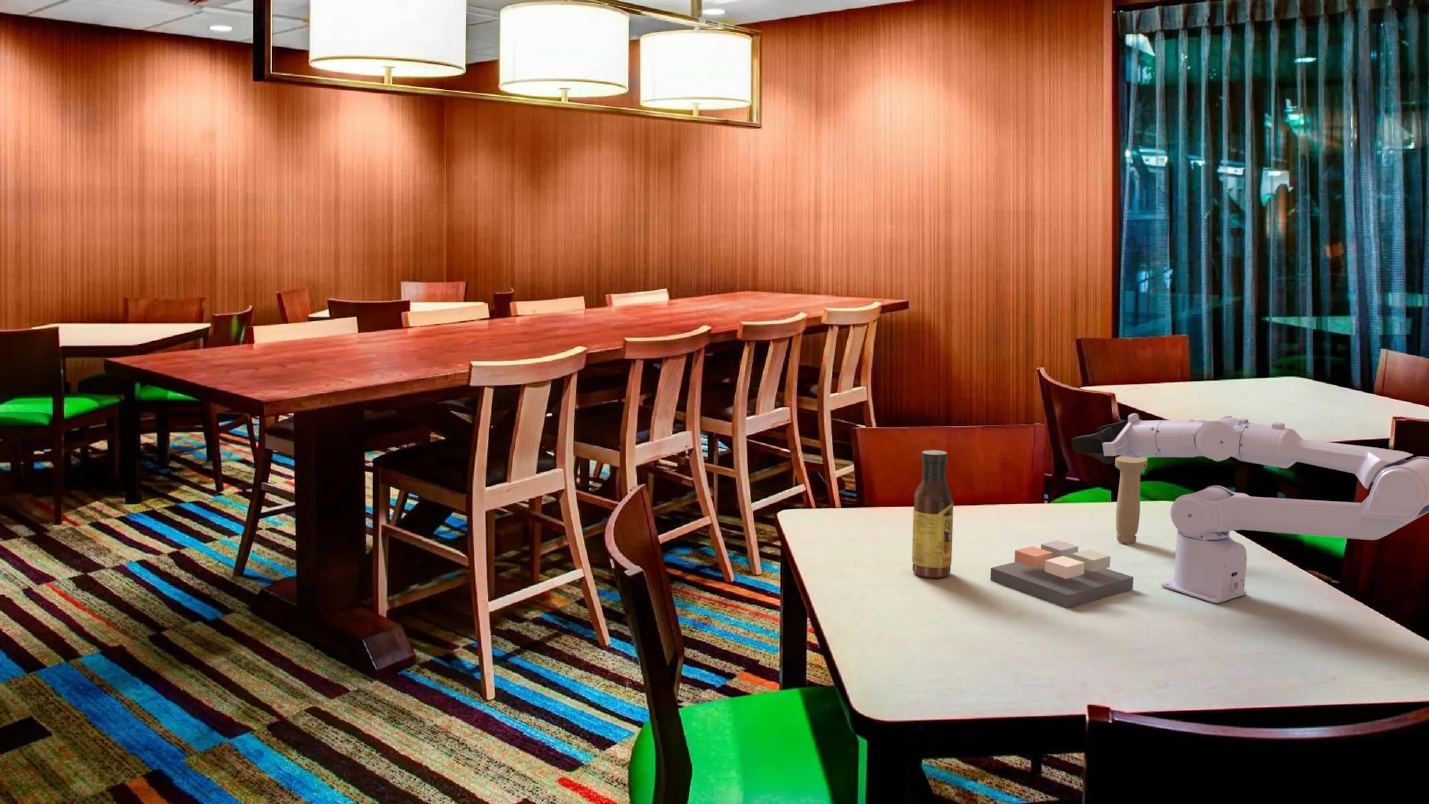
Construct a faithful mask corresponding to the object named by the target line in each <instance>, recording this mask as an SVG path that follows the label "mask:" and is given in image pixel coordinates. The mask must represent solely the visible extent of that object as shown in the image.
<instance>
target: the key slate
mask: <svg viewBox="0 0 1429 804" xmlns="http://www.w3.org/2000/svg"><path fill="white" fill-rule="evenodd" d="M1040 549H1043V550H1046V551H1049V552H1053V557H1052V558H1056V557H1061V556H1065V557H1068V558H1072V554H1073V553H1077V552H1079V546H1078V545H1075V544H1071V543H1068V542H1065V541H1061V540H1058V539H1057V540H1054V541H1049V542H1045V543H1041V544H1040Z"/></svg>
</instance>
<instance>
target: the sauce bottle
mask: <svg viewBox="0 0 1429 804" xmlns="http://www.w3.org/2000/svg"><path fill="white" fill-rule="evenodd" d="M920 460H921V463H922V471H921V472H922V473H921V479H922V480H921V481H920V483H919V485H918V486H916V487H917V488H916V489H915V491H914V496H913V500H914V501H913V502H914V503H913V504H914V505H913V511H912V547H911V548H912V550H911V552H912V554H911V562H912V572H913V574H915V575H917V576H919V577H923V578H930V579H932V578H933V579H939V578H944V577H947V576H949V575H950V574H951V566H952V557H953V556H952V555H953V529H954V527H953V526H954V525H953V524H954V523H953V521H954V519H953V518H954V499H953V497H952V493H951V490H950V487H949V484H948V481H947V463H948V452H947V451H944V450H937V449H931V450H923V451H922V452H921V459H920Z"/></svg>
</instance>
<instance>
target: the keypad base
mask: <svg viewBox="0 0 1429 804" xmlns="http://www.w3.org/2000/svg"><path fill="white" fill-rule="evenodd" d="M989 580H990V581H992V582H995V583H997V584H999V585H1003V586H1006V587H1008V588H1011V589H1013V590H1016V591H1020V592H1022V593H1026V594H1028V595H1029V596H1033V597H1036V598H1039V599H1042V600H1044V601H1046V602H1050V603H1051V604H1052V603H1053V604H1055V605H1058V606H1061V607H1063V608H1066V609H1069V608H1072V607H1076V606H1080V605H1083V604H1087V603H1090V602H1093V601H1097V600H1101V599H1104V598H1108V597H1111V596H1114V595H1118V594H1123V593H1125V592H1129V591H1133V590H1134V576H1132V575H1128V574H1125V573H1122V572H1119V571H1115V570H1113V569H1109V568H1105V569H1102V570H1098V571H1094V572H1092V571H1089V570H1085V569H1084V574H1083V575H1079V576H1075V577H1071V578H1067V579H1065V578H1062V577H1059V576H1056V575H1053V574H1051V573H1048V572H1045V566H1041V567H1037V568H1033V567H1030V566H1027V565H1024V564H1021V563H1018V562H1015V561H1013V562H1008V563H1006V564H1002V565H997V566H991V567H990V578H989Z"/></svg>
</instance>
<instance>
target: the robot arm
mask: <svg viewBox="0 0 1429 804" xmlns="http://www.w3.org/2000/svg"><path fill="white" fill-rule="evenodd" d="M1071 447H1072V452H1075V453H1079V454H1082V455H1086V456H1090V457H1093V458H1095V459H1097V460H1099V461H1100V462H1102V463H1103V464H1106V465H1110V464H1114V463H1115V457H1117V456H1126V457H1131V458H1141V457H1145V458H1195V457H1205V458H1208V459H1211V460H1213V461H1215V462H1221V461H1225V460H1227V459H1229V458H1230V457H1232V458H1234V459H1236V460H1238V461H1240V462H1246V463H1251V464H1259V465H1263V466H1269V467H1275V468H1280V469H1281V468H1282V469H1289V468H1290V467H1292V466H1293V465H1294V464H1295V463H1297V462H1298V463H1303V464H1306V465H1307V464H1308V465H1311V466H1312V465H1313V466H1317V467H1320V468H1321V467H1322V468H1325V469H1326V468H1327V469H1331V470H1336V471H1341V472H1346V473H1351V474H1354V475H1355V476H1356V478H1357V479H1358V481H1359V482H1360V483H1361V485H1362V486H1363V487H1364V488H1365V489H1366V490H1369V489H1370V488H1371V489H1370V491H1369V495H1367V497H1366V498H1365V499H1364V500H1363V501H1362V502H1353V501H1351V502H1348V501H1330V500H1314V499H1297V498H1295V499H1294V498H1279V497H1278V498H1277V497H1263V496H1262V497H1261V496H1259V497H1258V496H1250V495H1248V494H1246V493H1243V492H1236V491H1235V492H1234V491H1232V490H1230V489H1228V488H1226V487H1224V486H1221V485H1211V486H1207V487H1205V488H1204V489H1201V490H1199V491H1196V492H1191V493H1187V494H1183V495H1180V496H1179V497H1177V498H1176V499H1175V500H1174V501H1173V503H1172V504H1171V507H1170V518H1171V522H1172V523H1173V525H1174V527H1175V528H1176V529H1177V531H1176V532H1177V533H1176V543H1175V544H1176V547H1175V559H1174V560H1175V561H1174V574H1173V579H1170V580H1168V581H1163V582H1161V583H1160V585H1161V587H1163V588H1166V589H1170V590H1173V591H1176V592H1178V593H1183V594H1185V595H1188V596H1190V597H1194V598H1198V599H1200V600H1205V601H1207V602H1209V603H1214V604H1220V603H1223V602H1225V601H1228V600H1232V599H1235V598H1238V597H1241V596H1245V595H1247V594H1248V590H1245V585H1246V572H1247V559H1248V555H1247V554H1248V553H1247V550H1246V547H1245V546H1244V544H1243V543H1240V542H1238V541H1235V540H1233V539H1232V537H1231V536H1230V532H1232V531H1233V532H1234V531H1241V530H1242V531H1243V530H1244V531H1253V532H1254V531H1255V532H1269V533H1279V534H1280V533H1281V534H1282V533H1283V534H1291V535H1292V534H1293V535H1302V536H1303V535H1305V536H1306V535H1307V536H1318V537H1328V538H1330V537H1331V538H1341V539H1342V538H1343V539H1354V540H1367V541H1368V540H1369V541H1376V540H1380V539H1382V538H1384V537H1385V536H1388V535H1390V534H1391V533H1394V532H1396V530H1399V529H1400V528H1403V527H1404V526H1406V525H1408V524H1410V523H1411V522H1413V521H1415V520H1417V519H1419V518H1421V517H1422V516H1424V515H1426V514H1428V513H1429V456H1416V457H1412V456H1414V454H1412V453H1409V452H1406V451H1401V450H1393V449H1390V448H1389V449H1388V448H1387V449H1386V448H1379V447H1373V446H1364V445H1355V444H1345V443H1340V442H1339V443H1338V442H1329V441H1320V440H1319V441H1318V440H1313V439H1312V440H1311V439H1304V438H1302V437H1301V436H1300V434H1299V433H1298V432H1297V431H1296V430H1295V429H1293V428H1289V427H1286V424H1285V423H1284V422H1278V421H1277V422H1273V423H1271V425H1268V424H1267V425H1266V424H1260V423H1254V422H1249V419H1247V418H1235V417H1233V416H1231V415H1229V416H1224V417H1221V418H1219V419H1216V420H1205V419H1198V420H1196V419H1168V420H1167V419H1162V420H1160V419H1157V420H1143V417H1142V416H1141V414H1138V413H1136V412H1135V413H1131V414H1129V415H1128V416H1127V419H1126V420H1123V421H1119V422H1116V423H1111V424H1105V425H1101V426H1099V427H1097V428H1096V433H1092V434H1085V435H1080V436H1076V437H1074V438H1071ZM1410 457H1412V458H1410ZM1407 458H1410V459H1408V460H1407Z"/></svg>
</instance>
